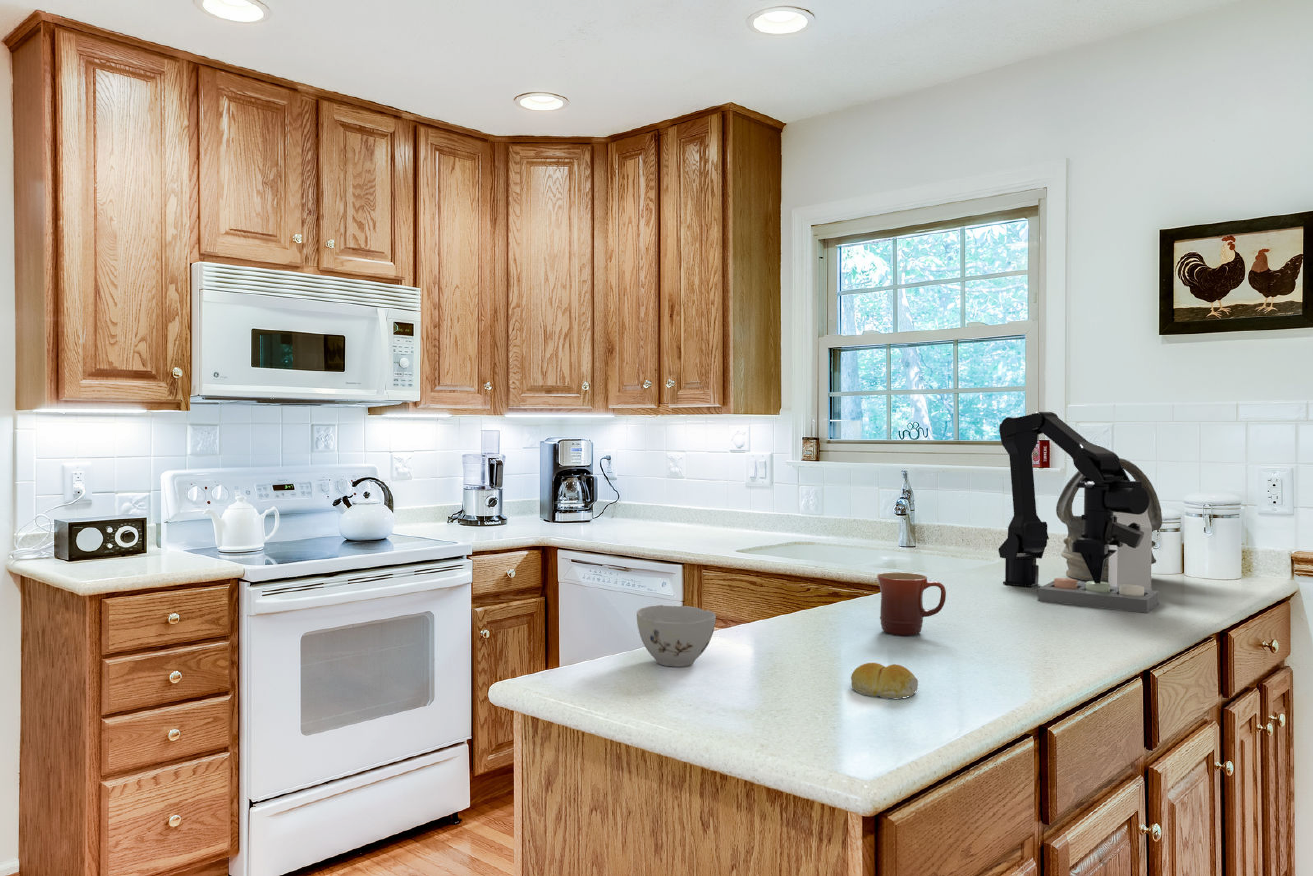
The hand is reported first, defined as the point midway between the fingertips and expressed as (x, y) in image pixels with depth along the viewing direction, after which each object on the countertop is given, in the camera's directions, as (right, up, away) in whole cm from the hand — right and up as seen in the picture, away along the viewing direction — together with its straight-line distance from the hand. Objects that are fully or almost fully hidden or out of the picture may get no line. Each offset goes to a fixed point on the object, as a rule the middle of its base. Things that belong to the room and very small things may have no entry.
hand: (1097, 583), depth 197 cm
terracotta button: (-5, -3, +4) cm, 7 cm away
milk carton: (+14, -4, +13) cm, 20 cm away
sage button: (0, -3, 0) cm, 3 cm away
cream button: (+5, -3, -4) cm, 7 cm away
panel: (0, -4, 0) cm, 4 cm away
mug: (-48, -4, -31) cm, 58 cm away
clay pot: (+18, -4, +32) cm, 37 cm away
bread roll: (-62, -5, -67) cm, 91 cm away
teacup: (-91, -5, -51) cm, 104 cm away
